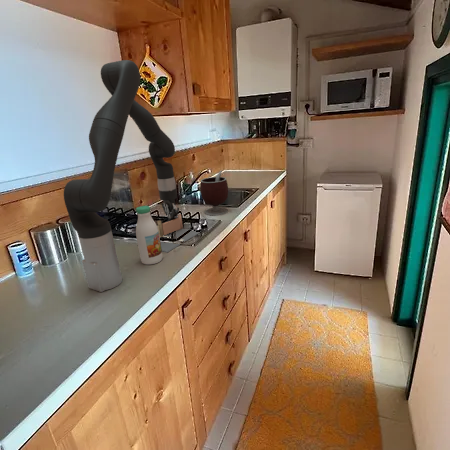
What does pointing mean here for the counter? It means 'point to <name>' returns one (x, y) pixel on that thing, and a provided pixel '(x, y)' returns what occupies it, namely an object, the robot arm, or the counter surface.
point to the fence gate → (172, 225)
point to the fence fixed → (160, 228)
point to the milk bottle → (148, 237)
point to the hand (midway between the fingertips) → (172, 225)
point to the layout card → (170, 246)
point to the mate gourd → (214, 194)
